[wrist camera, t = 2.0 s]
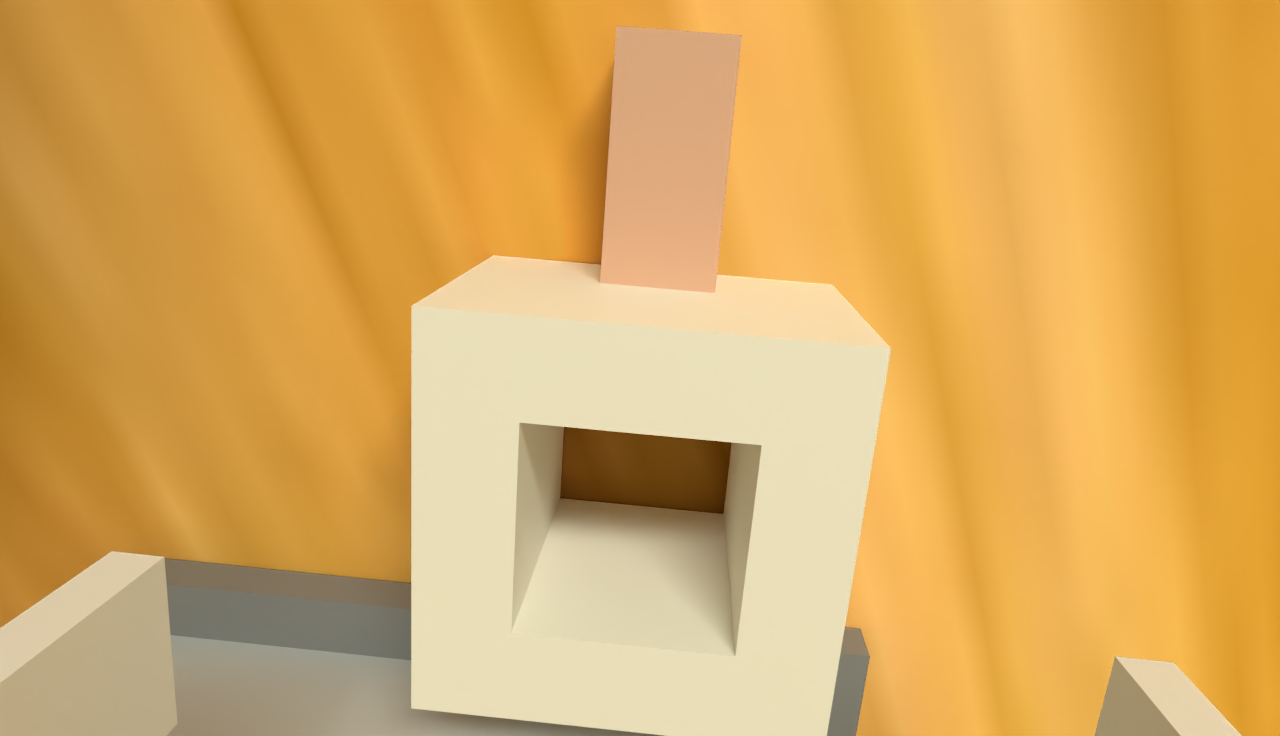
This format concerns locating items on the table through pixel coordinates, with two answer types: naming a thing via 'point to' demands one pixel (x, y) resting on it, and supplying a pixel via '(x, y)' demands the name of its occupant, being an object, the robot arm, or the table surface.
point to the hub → (653, 405)
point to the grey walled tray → (340, 660)
